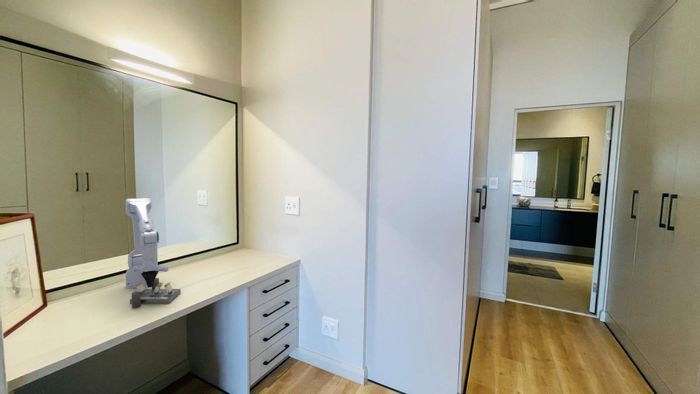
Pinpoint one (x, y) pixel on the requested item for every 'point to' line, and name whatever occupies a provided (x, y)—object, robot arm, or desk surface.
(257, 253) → the desk surface
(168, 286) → the orange and white block
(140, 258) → the robot arm
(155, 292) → the white and orange block
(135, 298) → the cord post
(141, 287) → the white and orange block
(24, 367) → the desk surface
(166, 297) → the breaker panel
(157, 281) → the cylinder
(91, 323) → the desk surface
